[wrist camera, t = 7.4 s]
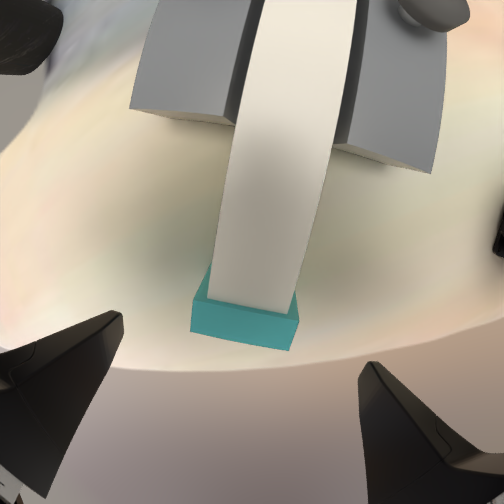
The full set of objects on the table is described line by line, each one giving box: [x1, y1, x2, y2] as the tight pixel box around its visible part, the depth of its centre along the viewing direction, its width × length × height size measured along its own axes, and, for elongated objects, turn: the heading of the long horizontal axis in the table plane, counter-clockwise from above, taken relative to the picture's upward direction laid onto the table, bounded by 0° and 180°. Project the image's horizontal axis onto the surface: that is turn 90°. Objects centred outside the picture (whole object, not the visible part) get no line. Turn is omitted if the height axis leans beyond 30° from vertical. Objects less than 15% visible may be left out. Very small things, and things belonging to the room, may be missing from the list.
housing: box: [129, 0, 447, 174], centre depth 10 cm, size 14×12×7 cm
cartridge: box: [190, 0, 357, 351], centre depth 12 cm, size 5×21×5 cm, turn 169°
